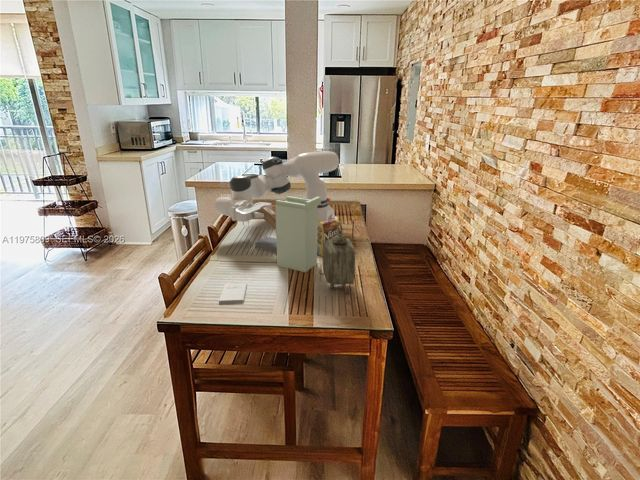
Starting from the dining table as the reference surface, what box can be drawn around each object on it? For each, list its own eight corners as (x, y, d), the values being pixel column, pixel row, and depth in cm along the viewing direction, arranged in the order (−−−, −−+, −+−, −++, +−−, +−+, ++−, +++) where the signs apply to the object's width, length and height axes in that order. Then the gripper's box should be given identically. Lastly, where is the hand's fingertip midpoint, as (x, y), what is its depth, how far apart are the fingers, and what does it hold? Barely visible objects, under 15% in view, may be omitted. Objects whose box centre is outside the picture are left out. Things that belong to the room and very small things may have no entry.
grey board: (266, 241, 179) (266, 236, 179) (317, 252, 167) (317, 247, 166) (255, 247, 172) (254, 242, 171) (307, 259, 160) (307, 254, 159)
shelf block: (289, 257, 162) (288, 192, 151) (320, 264, 155) (320, 196, 145) (277, 265, 154) (275, 197, 144) (308, 273, 148) (308, 202, 137)
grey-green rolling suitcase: (353, 296, 131) (356, 229, 122) (328, 298, 129) (329, 230, 120) (345, 277, 144) (347, 216, 135) (322, 279, 143) (322, 217, 134)
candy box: (321, 256, 163) (322, 223, 157) (316, 253, 166) (316, 220, 161) (338, 252, 168) (339, 220, 162) (332, 249, 171) (333, 217, 165)
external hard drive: (219, 304, 126) (224, 287, 137) (243, 303, 127) (247, 286, 138) (218, 300, 125) (224, 283, 137) (243, 299, 126) (247, 282, 137)
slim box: (263, 211, 170) (266, 204, 168) (298, 241, 165) (302, 234, 163) (257, 213, 166) (260, 206, 164) (293, 244, 162) (297, 237, 160)
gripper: (258, 210, 182) (281, 214, 176) (229, 221, 165) (254, 226, 159) (257, 197, 180) (281, 201, 173) (228, 208, 163) (253, 212, 157)
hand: (268, 213), depth 166 cm, fingers closed on slim box, 4 cm apart
